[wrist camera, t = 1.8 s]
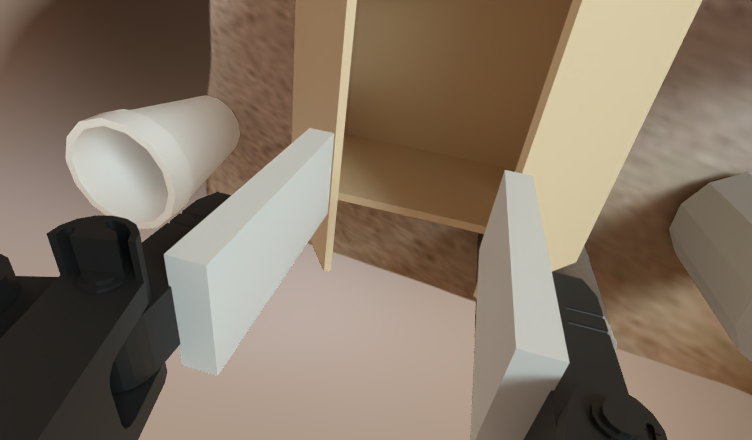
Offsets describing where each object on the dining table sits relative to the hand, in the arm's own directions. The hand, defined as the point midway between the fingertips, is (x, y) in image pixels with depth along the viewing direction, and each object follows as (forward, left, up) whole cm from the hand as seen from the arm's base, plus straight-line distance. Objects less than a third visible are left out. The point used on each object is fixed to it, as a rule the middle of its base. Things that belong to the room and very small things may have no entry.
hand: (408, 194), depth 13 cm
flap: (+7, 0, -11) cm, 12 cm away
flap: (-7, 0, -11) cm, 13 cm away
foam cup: (+23, +12, -27) cm, 37 cm away
